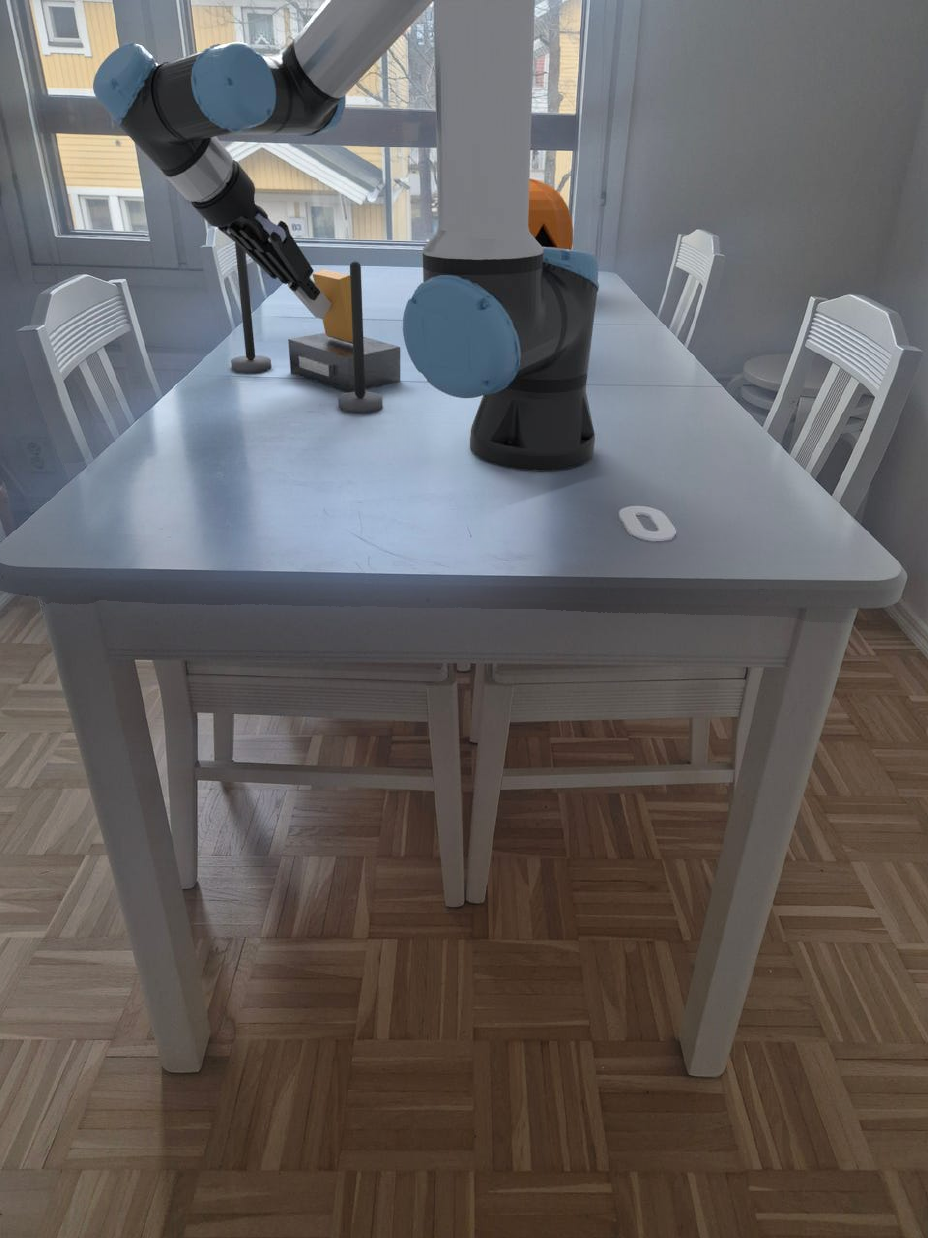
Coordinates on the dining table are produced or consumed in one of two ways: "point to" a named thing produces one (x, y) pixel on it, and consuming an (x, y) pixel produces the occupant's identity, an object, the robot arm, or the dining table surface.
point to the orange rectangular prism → (336, 304)
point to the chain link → (636, 527)
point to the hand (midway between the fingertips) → (323, 310)
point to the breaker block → (343, 361)
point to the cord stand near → (358, 355)
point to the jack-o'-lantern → (549, 217)
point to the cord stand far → (247, 324)
